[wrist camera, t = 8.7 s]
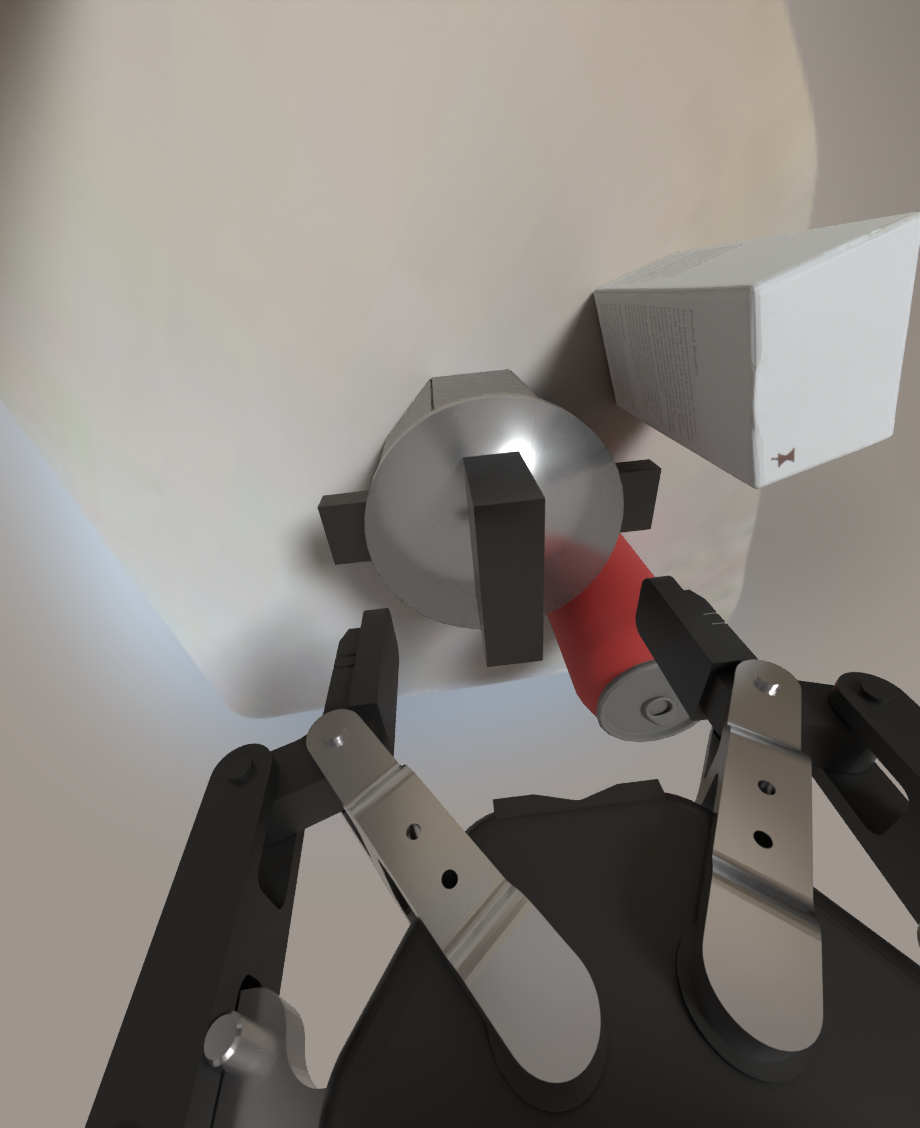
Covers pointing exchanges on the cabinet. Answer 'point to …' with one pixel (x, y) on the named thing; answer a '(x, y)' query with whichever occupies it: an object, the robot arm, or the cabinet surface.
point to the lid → (494, 517)
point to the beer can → (617, 654)
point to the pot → (348, 509)
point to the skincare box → (767, 344)
